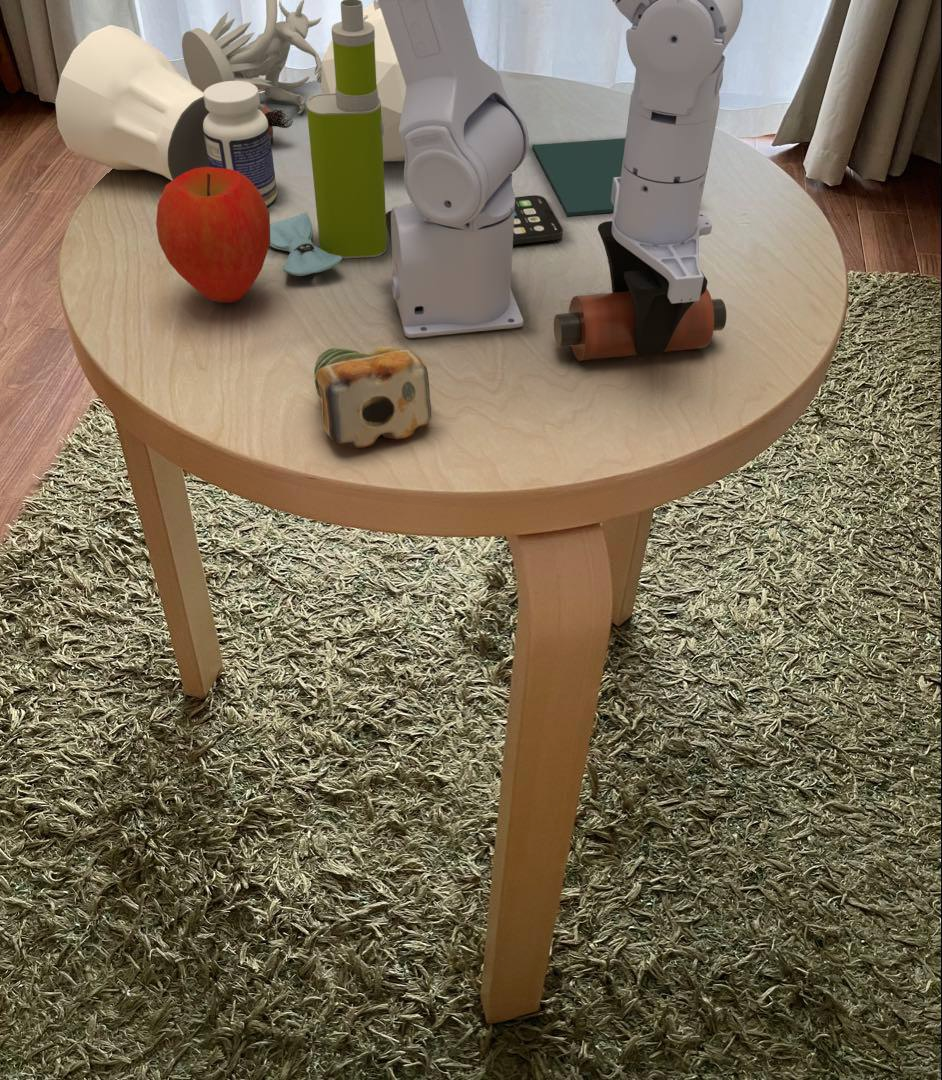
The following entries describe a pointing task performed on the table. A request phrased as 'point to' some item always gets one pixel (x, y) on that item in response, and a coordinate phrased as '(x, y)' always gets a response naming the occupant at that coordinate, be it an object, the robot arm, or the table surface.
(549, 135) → the table surface
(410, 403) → the ornament
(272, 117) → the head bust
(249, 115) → the pill bottle
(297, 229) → the bow tie
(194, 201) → the apple
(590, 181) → the pastry mat
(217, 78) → the demon figurine
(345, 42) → the vape
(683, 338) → the rolling pin
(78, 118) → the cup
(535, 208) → the smartphone
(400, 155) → the geodesic sphere
